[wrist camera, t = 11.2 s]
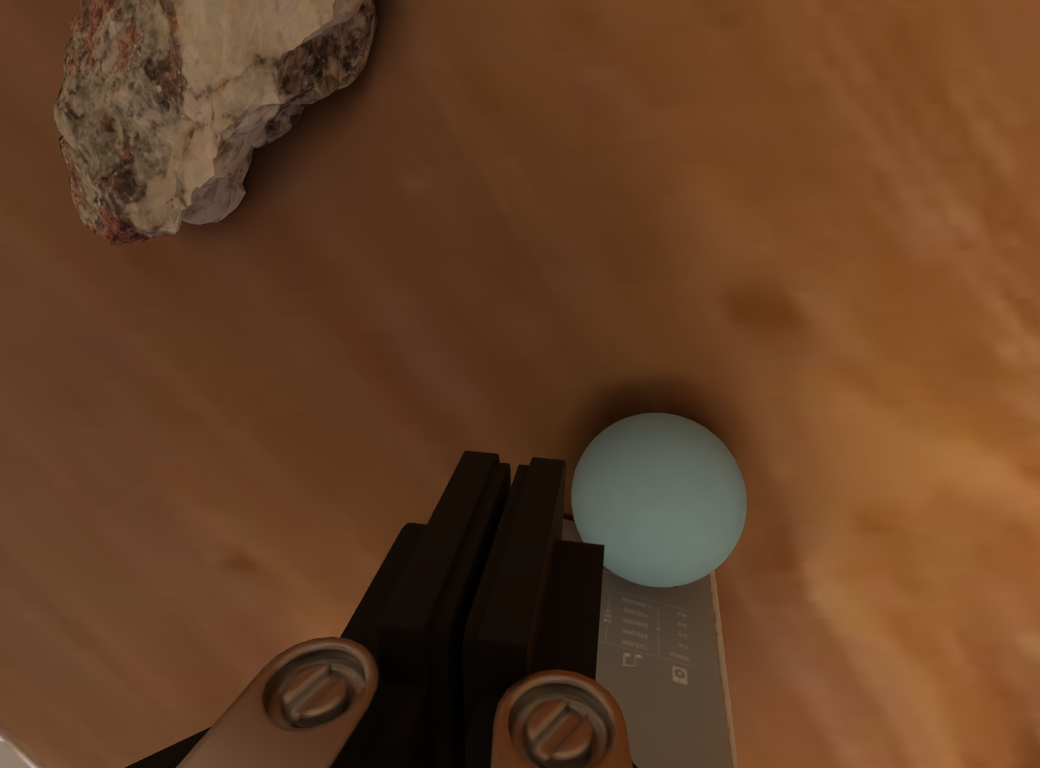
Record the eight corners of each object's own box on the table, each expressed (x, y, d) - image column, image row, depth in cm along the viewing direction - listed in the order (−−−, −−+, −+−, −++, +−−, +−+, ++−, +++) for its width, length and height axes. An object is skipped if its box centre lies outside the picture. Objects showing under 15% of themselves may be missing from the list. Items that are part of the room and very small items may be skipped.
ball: (560, 578, 17) (542, 404, 20) (603, 612, 22) (583, 466, 24) (769, 545, 16) (717, 364, 19) (768, 589, 20) (727, 438, 23)
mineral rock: (326, -346, 16) (215, -505, 12) (517, -59, 17) (476, -113, 13) (43, 65, 21) (-97, 52, 17) (207, 254, 23) (113, 282, 19)
